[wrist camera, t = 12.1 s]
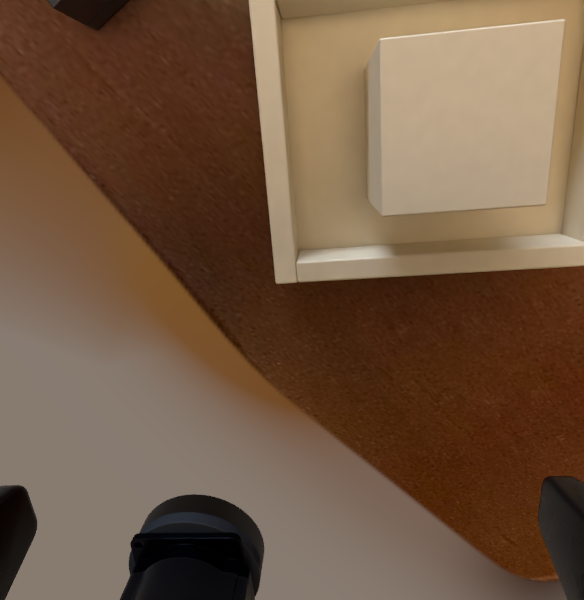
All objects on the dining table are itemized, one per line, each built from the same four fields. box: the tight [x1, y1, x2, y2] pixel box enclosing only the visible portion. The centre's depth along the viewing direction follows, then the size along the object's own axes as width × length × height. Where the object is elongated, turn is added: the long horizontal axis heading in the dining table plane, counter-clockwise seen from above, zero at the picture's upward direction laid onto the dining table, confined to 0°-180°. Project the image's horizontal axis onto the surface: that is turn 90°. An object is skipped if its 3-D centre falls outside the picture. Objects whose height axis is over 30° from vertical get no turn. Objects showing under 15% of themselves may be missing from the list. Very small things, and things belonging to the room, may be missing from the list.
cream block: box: [364, 19, 565, 217], centre depth 14 cm, size 4×4×4 cm
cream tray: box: [249, 0, 584, 284], centre depth 15 cm, size 12×10×3 cm
